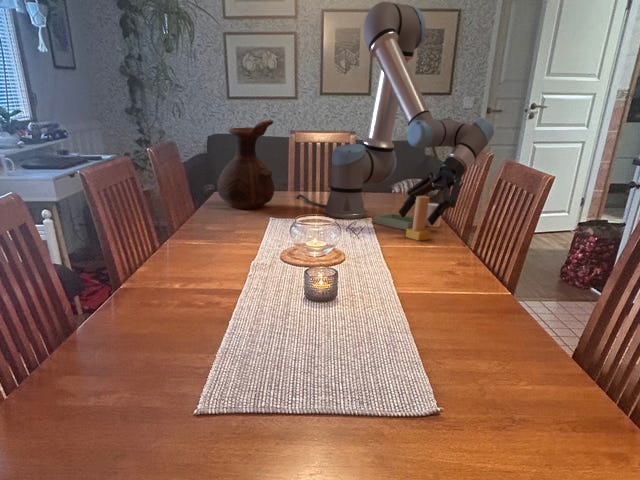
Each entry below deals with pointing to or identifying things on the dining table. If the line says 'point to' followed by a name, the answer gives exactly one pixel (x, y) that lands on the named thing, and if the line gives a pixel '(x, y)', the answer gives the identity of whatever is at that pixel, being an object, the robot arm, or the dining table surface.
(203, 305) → the dining table surface
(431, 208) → the white cup
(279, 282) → the dining table surface
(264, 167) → the jug
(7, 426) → the dining table surface
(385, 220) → the tray
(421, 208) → the wooden peg on base
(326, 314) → the dining table surface
